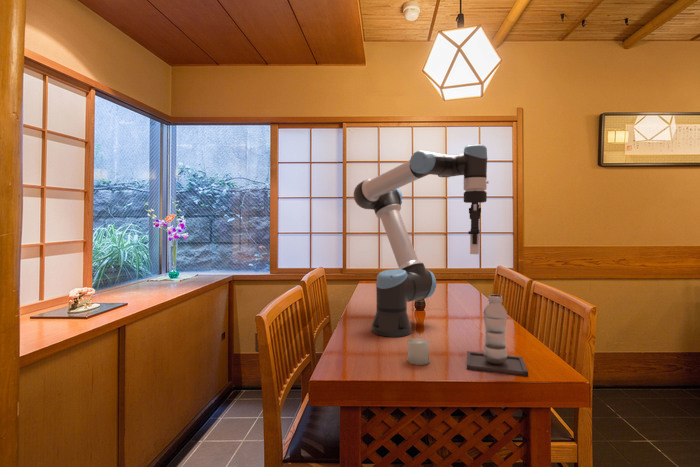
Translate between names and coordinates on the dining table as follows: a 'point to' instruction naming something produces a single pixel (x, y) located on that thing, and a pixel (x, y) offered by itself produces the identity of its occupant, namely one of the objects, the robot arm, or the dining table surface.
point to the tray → (511, 366)
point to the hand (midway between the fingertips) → (474, 252)
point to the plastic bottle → (495, 331)
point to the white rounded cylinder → (418, 351)
